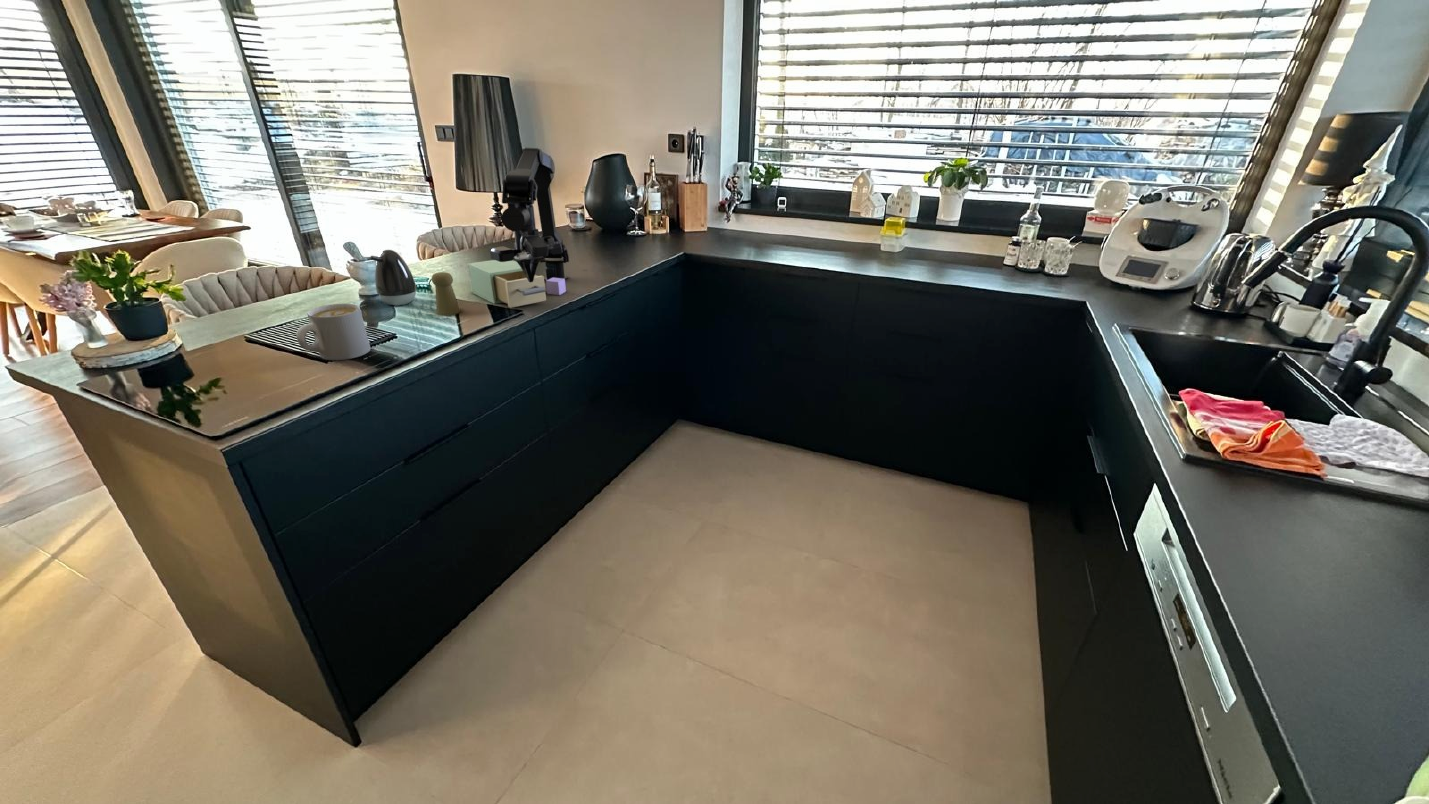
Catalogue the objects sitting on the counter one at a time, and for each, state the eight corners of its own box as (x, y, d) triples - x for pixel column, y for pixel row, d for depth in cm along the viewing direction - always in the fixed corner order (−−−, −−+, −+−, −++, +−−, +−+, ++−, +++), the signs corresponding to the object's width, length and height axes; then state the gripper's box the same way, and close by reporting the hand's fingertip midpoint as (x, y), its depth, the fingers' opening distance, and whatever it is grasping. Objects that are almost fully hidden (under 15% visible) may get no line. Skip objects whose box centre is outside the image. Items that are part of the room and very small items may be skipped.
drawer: (554, 304, 162) (552, 279, 159) (518, 311, 155) (515, 286, 152) (523, 290, 174) (520, 267, 170) (488, 297, 166) (484, 272, 163)
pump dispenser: (371, 304, 159) (357, 250, 152) (404, 295, 167) (392, 244, 160) (394, 310, 155) (381, 255, 148) (427, 301, 163) (416, 249, 156)
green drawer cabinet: (533, 296, 171) (530, 266, 167) (494, 304, 163) (489, 273, 159) (510, 286, 180) (506, 258, 176) (472, 292, 172) (467, 263, 168)
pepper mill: (454, 307, 159) (448, 269, 154) (463, 312, 155) (456, 273, 150) (433, 311, 155) (425, 272, 150) (441, 316, 152) (433, 276, 147)
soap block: (554, 290, 178) (552, 277, 176) (565, 291, 177) (564, 278, 175) (547, 293, 174) (545, 280, 173) (559, 295, 174) (558, 282, 172)
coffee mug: (361, 340, 134) (350, 300, 129) (377, 352, 128) (366, 310, 124) (296, 355, 125) (282, 312, 120) (310, 368, 119) (296, 324, 115)
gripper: (505, 232, 138) (513, 294, 145) (570, 225, 150) (575, 282, 157) (485, 226, 145) (494, 285, 152) (549, 220, 157) (554, 274, 164)
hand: (530, 281), depth 156 cm, fingers closed
